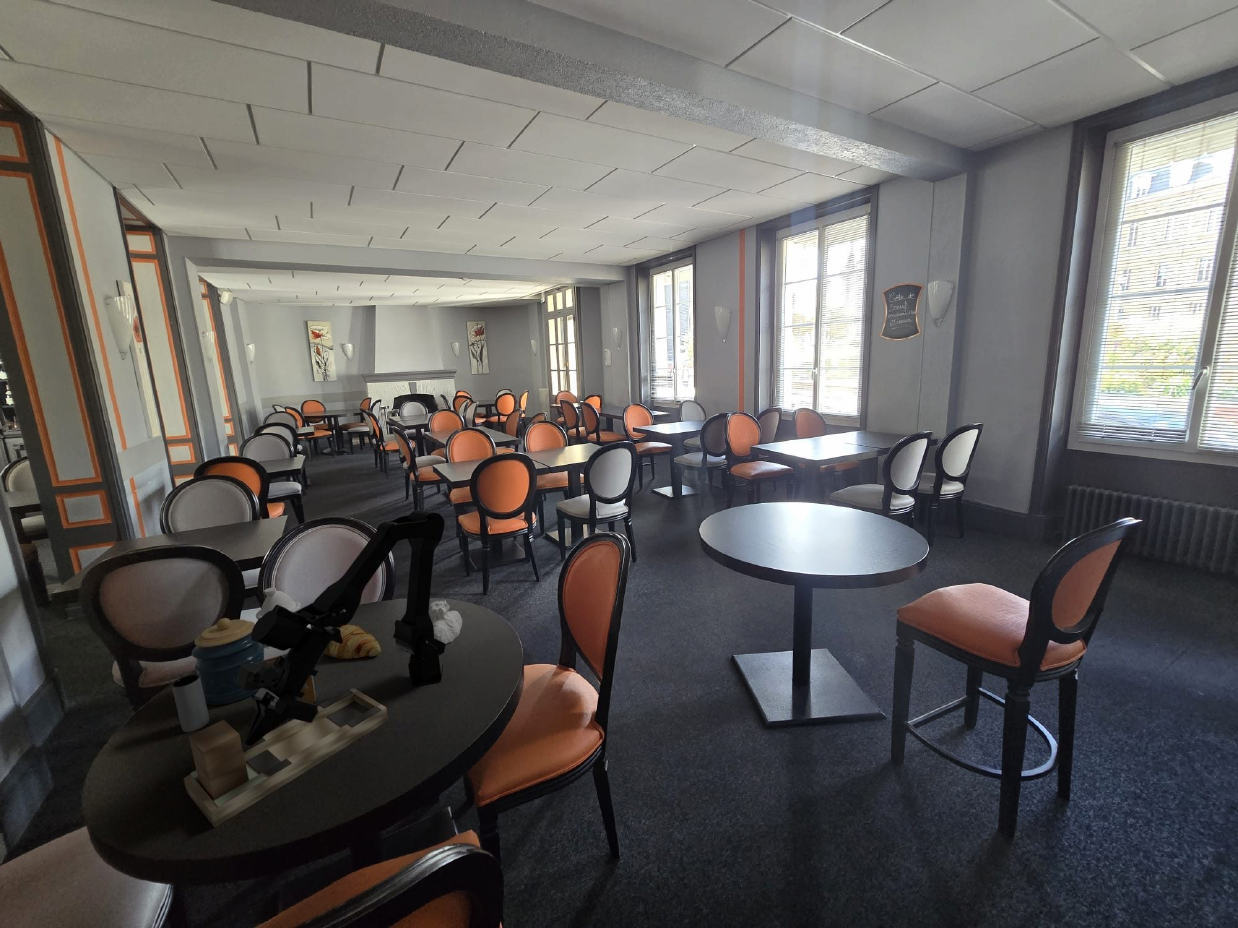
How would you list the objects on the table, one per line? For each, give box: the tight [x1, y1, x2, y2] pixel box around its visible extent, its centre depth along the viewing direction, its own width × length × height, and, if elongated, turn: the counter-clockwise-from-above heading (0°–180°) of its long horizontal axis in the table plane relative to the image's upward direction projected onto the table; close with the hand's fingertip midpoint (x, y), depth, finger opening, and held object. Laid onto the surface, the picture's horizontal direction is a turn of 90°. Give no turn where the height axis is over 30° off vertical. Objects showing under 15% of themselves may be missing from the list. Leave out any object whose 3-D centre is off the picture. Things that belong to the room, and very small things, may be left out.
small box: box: [264, 647, 317, 703], centre depth 115 cm, size 8×6×13 cm
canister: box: [191, 617, 264, 706], centre depth 120 cm, size 13×13×18 cm
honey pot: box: [255, 587, 312, 648], centre depth 137 cm, size 13×13×18 cm
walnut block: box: [188, 719, 249, 801], centre depth 89 cm, size 5×7×10 cm
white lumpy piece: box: [429, 599, 463, 645], centre depth 140 cm, size 12×8×11 cm
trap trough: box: [183, 687, 389, 829], centre depth 99 cm, size 30×13×3 cm, turn 145°
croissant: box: [324, 624, 382, 660], centre depth 136 cm, size 21×10×8 cm, turn 71°
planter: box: [171, 674, 210, 733], centre depth 109 cm, size 4×4×10 cm
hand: (248, 744), depth 93 cm, fingers closed
